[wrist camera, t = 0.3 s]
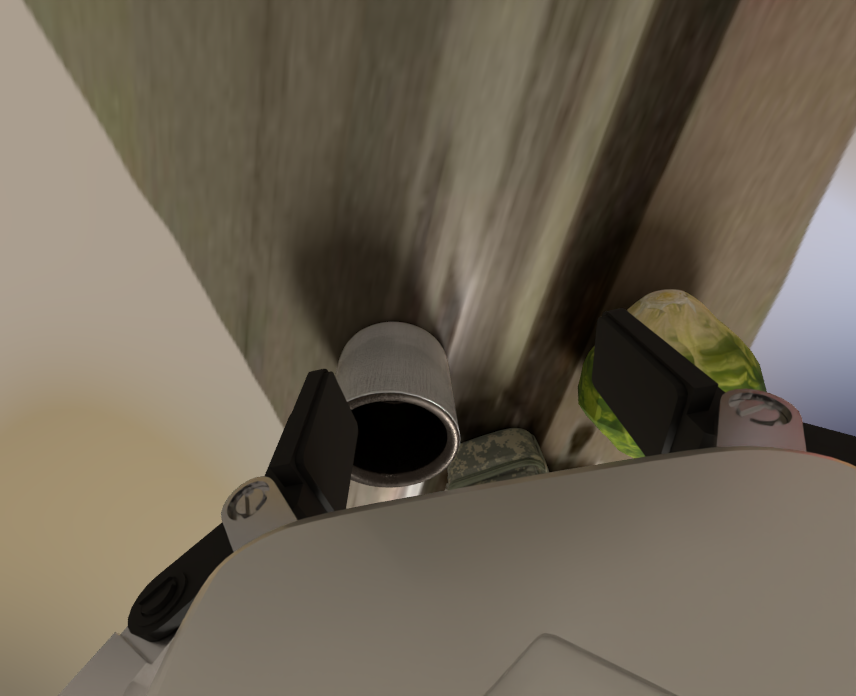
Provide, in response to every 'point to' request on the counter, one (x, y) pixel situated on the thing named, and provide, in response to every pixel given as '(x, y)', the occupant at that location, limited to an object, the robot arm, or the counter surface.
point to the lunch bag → (496, 459)
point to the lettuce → (694, 339)
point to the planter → (399, 404)
